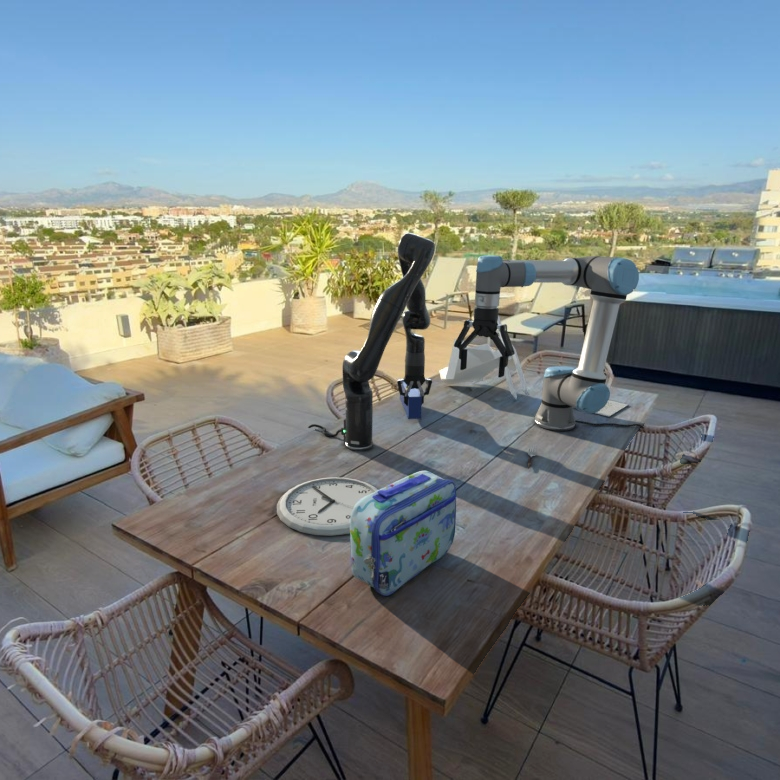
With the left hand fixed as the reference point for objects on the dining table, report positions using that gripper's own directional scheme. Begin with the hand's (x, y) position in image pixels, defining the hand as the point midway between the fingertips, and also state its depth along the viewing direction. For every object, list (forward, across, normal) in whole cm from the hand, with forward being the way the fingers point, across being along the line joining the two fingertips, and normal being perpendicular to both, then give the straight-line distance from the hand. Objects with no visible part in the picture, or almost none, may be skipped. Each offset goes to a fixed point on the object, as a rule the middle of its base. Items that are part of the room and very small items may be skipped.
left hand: (413, 404), depth 205 cm
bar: (+5, 0, +9) cm, 10 cm away
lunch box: (+7, -17, -93) cm, 95 cm away
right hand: (-22, +16, -33) cm, 43 cm away
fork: (+7, +33, -40) cm, 52 cm away
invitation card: (+7, +84, +10) cm, 85 cm away
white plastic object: (+7, +37, +34) cm, 50 cm away
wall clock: (+7, -32, -64) cm, 72 cm away
